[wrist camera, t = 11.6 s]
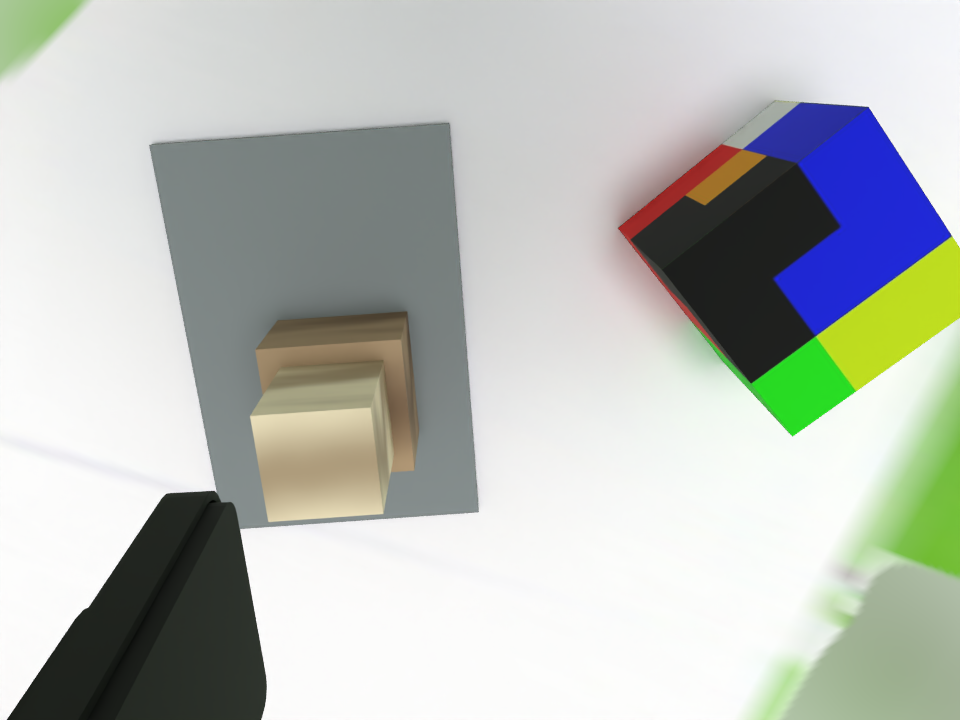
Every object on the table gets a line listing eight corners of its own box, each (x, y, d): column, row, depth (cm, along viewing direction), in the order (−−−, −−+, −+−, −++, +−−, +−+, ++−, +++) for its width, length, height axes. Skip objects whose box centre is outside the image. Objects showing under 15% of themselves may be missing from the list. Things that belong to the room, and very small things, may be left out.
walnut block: (277, 320, 44) (255, 349, 39) (407, 311, 44) (400, 339, 39) (295, 438, 46) (276, 480, 41) (419, 430, 46) (414, 470, 41)
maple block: (280, 367, 39) (249, 416, 33) (383, 360, 39) (370, 407, 33) (294, 460, 41) (268, 522, 35) (394, 453, 41) (383, 514, 35)
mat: (153, 144, 41) (149, 145, 40) (449, 123, 41) (448, 124, 40) (227, 524, 48) (224, 529, 48) (478, 506, 48) (478, 512, 48)
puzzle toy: (774, 100, 41) (868, 106, 32) (876, 249, 44) (990, 295, 34) (617, 227, 43) (661, 269, 34) (724, 362, 46) (792, 436, 36)
